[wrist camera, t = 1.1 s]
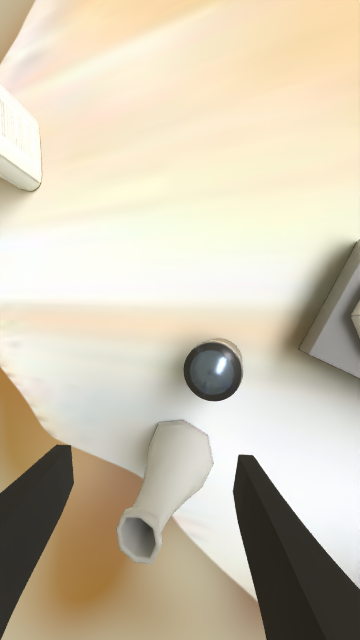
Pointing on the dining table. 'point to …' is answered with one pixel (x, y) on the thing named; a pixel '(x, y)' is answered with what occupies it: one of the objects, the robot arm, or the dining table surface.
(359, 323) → the camera body
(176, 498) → the flask
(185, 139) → the dining table surface
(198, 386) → the lens
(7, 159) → the white rounded slab
